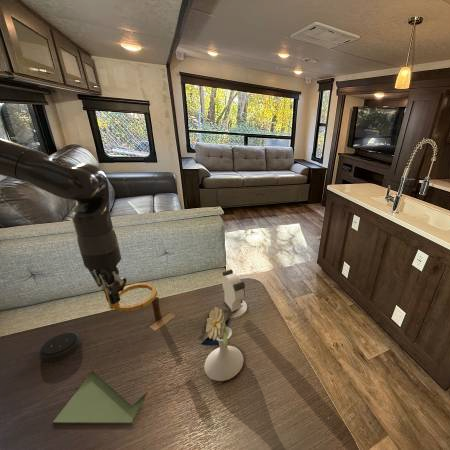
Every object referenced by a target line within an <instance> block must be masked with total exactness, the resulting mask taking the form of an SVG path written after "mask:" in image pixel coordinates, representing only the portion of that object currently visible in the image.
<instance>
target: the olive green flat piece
mask: <svg viewBox="0 0 450 450" xmlns="http://www.w3.org/2000/svg"><path fill="white" fill-rule="evenodd" d="M148 393H149V391H147V392H145V394H143V395H142V396H141V397H140V398H139V399H138V400H137V401H136V402H135V403H133V404H131V403H130V402H129V401H128V400H126V399H125V398H124V397H123V396H122V395H121V394H120V393H119V392H118V391H116V390H115V389H114V388H113V387H112V386H110V384H108V383H107V381H105V380H104V379H102V378H101V377H100V376H99V375H98V374H97V373H96V372H95V371H94V370H91V372H90V373H89V375H88V376H87V377H86V378H85V380H84V381H83V383H81V385H80V386H79V388H77V390H76V391H75V393H73V395H72V396H71V398H70V399H69V400H68V401H67V403H66V404H65V406H64V407H63V408H62V409H61V410H60V412H59V413H58V414H57V416H56V417H55V419H54V420H53V421H52V423H53V424H133V422H134V420H135V418H136V416H137V415H138V413H139V410H140V409H141V406H142V405H143V404H144V403H143V402H144V401H145V399H146V397H147V395H148Z"/></svg>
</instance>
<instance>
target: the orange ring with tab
mask: <svg viewBox="0 0 450 450" xmlns="http://www.w3.org/2000/svg"><path fill="white" fill-rule="evenodd" d="M111 289H112V287H111ZM137 289H148V290H150V291H151V294H150V295H149V296H148V297H147V298H145V299H143V300H142V301H140V302H137V303H133V304H121V303H120V301H119V302H117V303H115V304H111V303H110V300H109V296H108V293H107V289H106V288H105V292H106V295H107V299H108V301H107V302H108V306H109V309H110V310H116V311H119V312H132V311H136V310H140V309H142V308H145V307H146V306H148V305H150V304H152V303H151V302H152V301H153V300H154V299H155V298H156V296H157V297H158V289H157V286H156V285H154V284H153V283H151V282H137V283H136V282H135V283H131V284H128V285H125V287H124V289H123V290H122V291H120V292H119V296H120V297H122V295H123V294H125V293H127V292H129V291H132V290H137ZM105 292H104V293H105Z"/></svg>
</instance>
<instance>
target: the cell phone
mask: <svg viewBox="0 0 450 450" xmlns="http://www.w3.org/2000/svg"><path fill="white" fill-rule="evenodd" d="M230 319H231V318H230V317H229V318H227V320H225V324H226V327H229V322H230ZM200 345H202V346H219V342H218V340H216V339H215V340H213V336H212V338H211V339H210V338H209V337H208V336H207V338H205V339H204V340H203V341H201V343H200Z"/></svg>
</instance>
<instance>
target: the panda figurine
mask: <svg viewBox="0 0 450 450" xmlns="http://www.w3.org/2000/svg"><path fill="white" fill-rule="evenodd" d="M221 281H222V289H223V292H224V304H226V305H227V307H228V308H229V309H230V311H231V312H234V313H233V314H232V315H231V316H230V317H229V318H230V319H236V318H239V317H241V316H243V315H244V314H246V312H247V310H248V304H247V302H246V301H245V300H243V299H245V297H246V291H245V289H246V284H245V282H244V281H241V279H240V277H239V276H238V275H237V274H236V273H234V271H233V269H232V268H231V269H227V270H224V271H222V280H221Z"/></svg>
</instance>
